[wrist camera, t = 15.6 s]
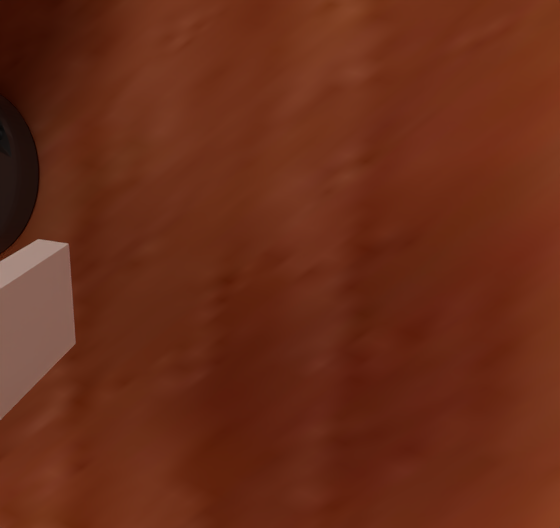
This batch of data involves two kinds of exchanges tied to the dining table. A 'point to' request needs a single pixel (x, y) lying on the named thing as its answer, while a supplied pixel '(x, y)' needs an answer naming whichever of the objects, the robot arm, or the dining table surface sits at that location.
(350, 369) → the dining table surface
